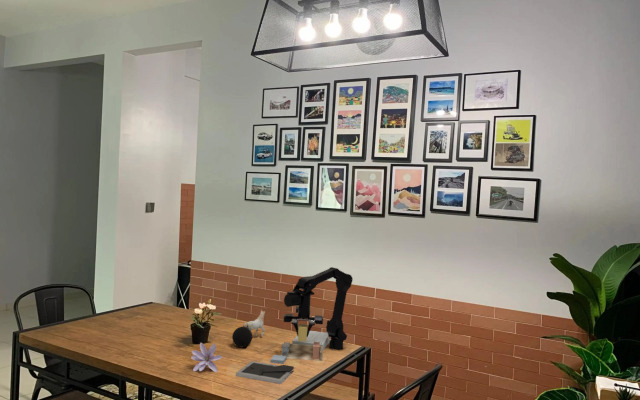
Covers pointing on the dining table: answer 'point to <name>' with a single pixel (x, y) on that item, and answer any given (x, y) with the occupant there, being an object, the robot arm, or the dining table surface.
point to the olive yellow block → (302, 332)
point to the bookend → (286, 349)
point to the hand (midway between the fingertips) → (302, 336)
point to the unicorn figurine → (256, 324)
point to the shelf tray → (303, 352)
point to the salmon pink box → (316, 350)
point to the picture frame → (266, 372)
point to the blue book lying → (278, 359)
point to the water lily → (205, 358)
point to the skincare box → (314, 339)
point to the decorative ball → (242, 336)
